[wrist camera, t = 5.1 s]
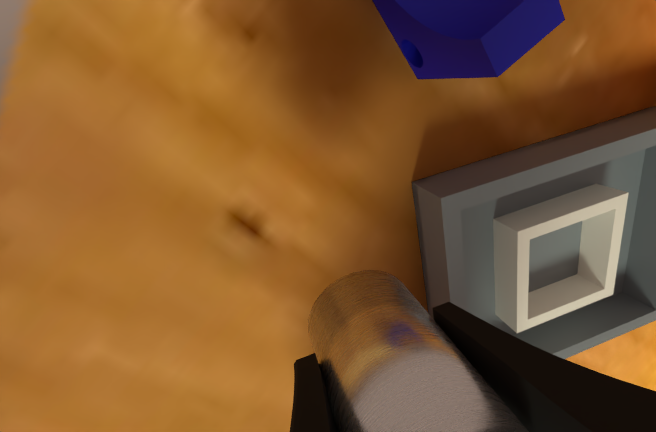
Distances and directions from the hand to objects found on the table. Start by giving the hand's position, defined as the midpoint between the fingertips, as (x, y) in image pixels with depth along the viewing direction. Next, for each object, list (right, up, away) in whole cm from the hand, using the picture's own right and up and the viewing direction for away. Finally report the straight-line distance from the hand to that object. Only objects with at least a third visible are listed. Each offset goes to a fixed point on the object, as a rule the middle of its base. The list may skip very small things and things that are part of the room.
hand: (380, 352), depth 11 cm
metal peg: (-1, +1, +2) cm, 2 cm away
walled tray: (+13, +2, +12) cm, 18 cm away
